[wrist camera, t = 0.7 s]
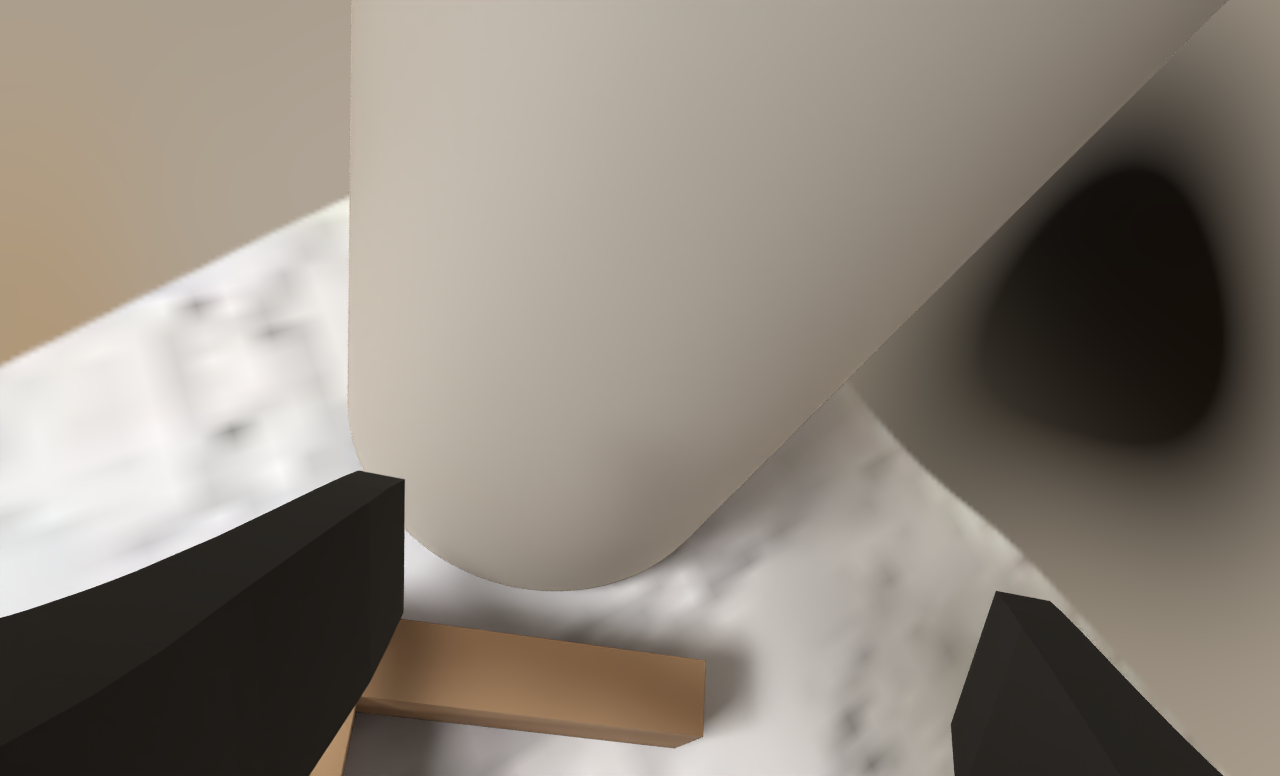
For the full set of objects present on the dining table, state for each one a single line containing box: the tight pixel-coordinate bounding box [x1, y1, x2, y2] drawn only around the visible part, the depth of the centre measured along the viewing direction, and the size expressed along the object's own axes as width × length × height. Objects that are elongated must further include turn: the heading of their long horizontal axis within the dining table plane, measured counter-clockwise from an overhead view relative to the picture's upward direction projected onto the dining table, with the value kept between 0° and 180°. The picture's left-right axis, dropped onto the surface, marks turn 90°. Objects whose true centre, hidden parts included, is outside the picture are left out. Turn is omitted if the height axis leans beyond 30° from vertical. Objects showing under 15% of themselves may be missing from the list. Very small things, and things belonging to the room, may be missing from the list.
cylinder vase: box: [348, 0, 1228, 591], centre depth 20 cm, size 12×12×25 cm
